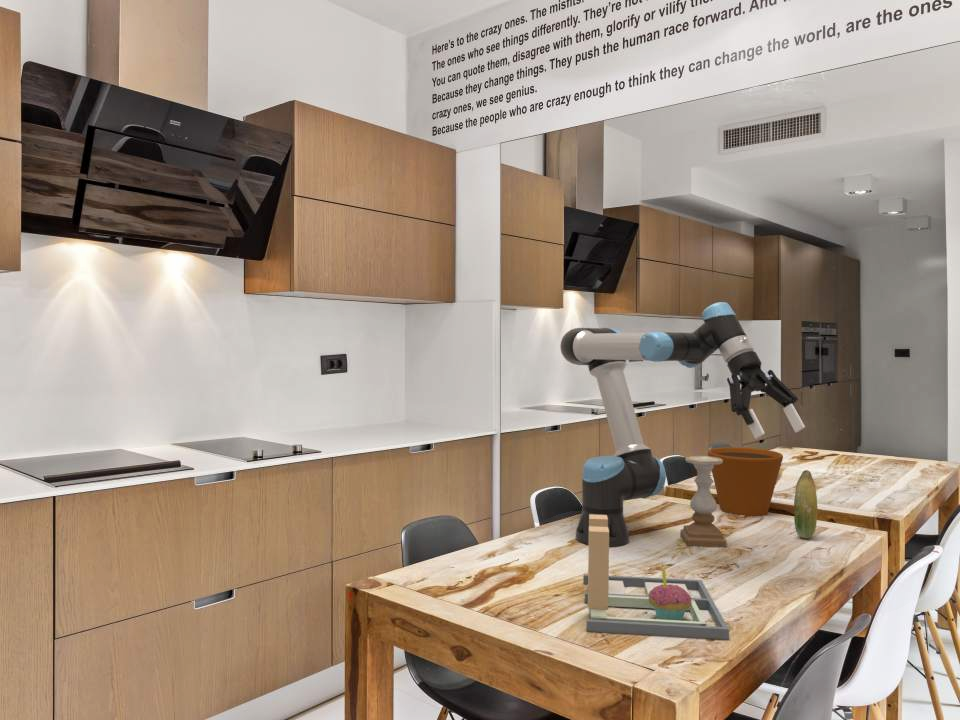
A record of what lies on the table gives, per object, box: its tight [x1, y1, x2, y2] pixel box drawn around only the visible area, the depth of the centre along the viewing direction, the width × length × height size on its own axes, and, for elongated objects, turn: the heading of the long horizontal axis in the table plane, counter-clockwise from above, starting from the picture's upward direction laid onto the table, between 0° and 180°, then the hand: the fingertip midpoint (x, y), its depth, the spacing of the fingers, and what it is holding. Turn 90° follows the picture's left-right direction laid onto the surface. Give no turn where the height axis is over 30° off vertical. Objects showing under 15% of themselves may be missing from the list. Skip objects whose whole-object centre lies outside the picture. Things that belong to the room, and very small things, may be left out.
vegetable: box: [793, 469, 818, 540], centre depth 204 cm, size 6×6×20 cm
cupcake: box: [649, 563, 692, 621], centre depth 143 cm, size 9×8×12 cm
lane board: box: [582, 573, 730, 641], centre depth 150 cm, size 27×28×2 cm
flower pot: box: [707, 446, 784, 517], centre depth 237 cm, size 24×24×20 cm
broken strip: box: [589, 514, 692, 598], centre depth 157 cm, size 22×10×17 cm, turn 83°
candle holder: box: [679, 455, 728, 548], centre depth 200 cm, size 11×11×24 cm
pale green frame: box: [587, 526, 707, 626], centre depth 144 cm, size 22×13×18 cm, turn 83°
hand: (780, 433), depth 167 cm, fingers open, 13 cm apart
